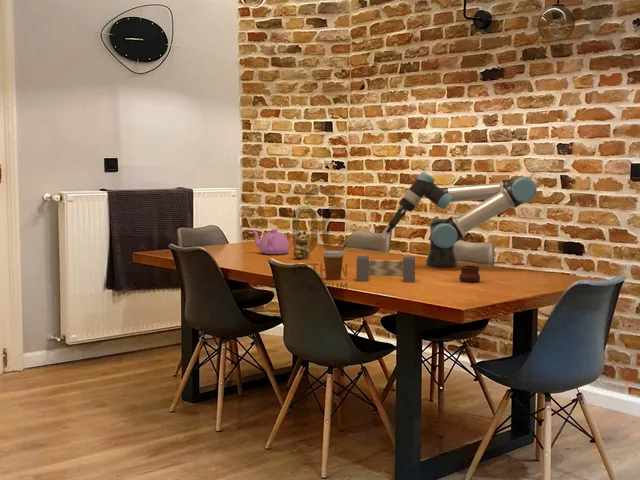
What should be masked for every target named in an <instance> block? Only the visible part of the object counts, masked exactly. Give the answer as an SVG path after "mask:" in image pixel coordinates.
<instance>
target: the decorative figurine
mask: <svg viewBox="0 0 640 480" xmlns="http://www.w3.org/2000/svg"><path fill="white" fill-rule="evenodd" d="M310 235H311V234H310V233H307V232H306V230H303V231H302V232H301V231H299V232H298V233H297V234H296V236H295V238H294V241H295V245H294V247H293V250H292V254H293V257H294V258H295V259H296V260H299V259H300V260H301V261H303V260H308V259H309V257H311V254H310V249H309V248H308V247H307V246H308V245H309V239H308V237H310Z"/></svg>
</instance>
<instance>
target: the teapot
mask: <svg viewBox="0 0 640 480" xmlns="http://www.w3.org/2000/svg"><path fill="white" fill-rule="evenodd" d="M251 231H252V232H253V233H254V243H255V245H256V246H257V247H258V250H259V252H260V253H262V254H263V253H265V255H266V254H270V255H276V254H281V255H286V254H287V253H288V252H289V251H290V249H291V247H290V242H289V240H288V238H287V237H286V235H285V233H284V232H278V229H277V228H276V229H275V228H273V229H271V230H270V232H265V233H264V234H263V236H262V238H261V239H260V238H259V233H258V231H257V230H255V229H251Z"/></svg>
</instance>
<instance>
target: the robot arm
mask: <svg viewBox="0 0 640 480" xmlns="http://www.w3.org/2000/svg"><path fill="white" fill-rule="evenodd" d="M435 181H436V180H435V178H434V177H433V176H431V175H430V174H429V173H427V172H425V171H422V172H421V173H420V174H419V175H418V176H417V177H416V179H415V180H414V181H413V183H412V184H411V186H410V187H409V189H408V190H406V191H405V194H404V196H403V197H401V199H400V201H398V203H399V205H400V206H402V207H400V208H398V209H397V211H396V213H395V214H394V216H393V218H392V219H391V220H390V222H389V223H388V224H387V226H386V227H385V228H384V229H383V231H382V232H381V235H380V237H381V238H383V239H384V240H387V239H388V236H390V235H391V233H392V232H393V230H394V229H395V228H396V226H397V225H398V223H399V222H400V220H402V219H403V217H405V215H406V214H407V212H406V211H408V212H411V213H412V212H413V211H414V209H415V208H416V205H418V204H419V203H420V201H421V200H422V199H423V197H425V198H427V199H428V200H429V201H430V202H432V203H433V204H434V205H435V206H437V208H440V209H441V210H446V208H447V207H448V206H449V205H450V204H451V203H459V202H469V201H479V200H484V201H483V202H481V203H478V204H477V205H475V206H474V207H472V208H470V209H469V210H467V211H465V212H464V213H461V214H459V215H458V216H450V217H449V218H436V219H435V218H434V219H433V218H432V219H431V221H430V224H429V227H430V228H429V229H430V232H429V233H430V235H429V237H430V238H429V239H430V240H429V246H430V247H429V252H428V255H427V257H426V261H425V262H426V263H425V265H426V266H428V267H436V268H451V267H453V268H454V267H457V266H458V260H457V257H456V254H455V251H454V249H455V248H454V245H455V244H456V243H457V242H459V241H461V240H462V239H464V238H465V237H466V233H468V232H470V231H471V230H474V229H475V228H476V227H478V226H480V225H481V224H484V223H485V222H487V221H489V220H491V219H492V218H494V217H496V216H497V215H499V214H501V213H503V212H504V211H506V210H508V209H509V208H512V209H516V208H518V207H520V206H521V205H523V204H526V203H529V202H531V201H532V200H533V199H534V198H535V196H536V195H537V185H536V183H535V182H534V180H532V178H530V177H527V176H515V177H513V178H508V179H501V180H500V181H499V182H491V183H490V182H489V183H479V184H471V185H470V184H469V185H459V186H447V187H439V186H438V185H436V184H435Z"/></svg>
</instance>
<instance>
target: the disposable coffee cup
mask: <svg viewBox="0 0 640 480" xmlns="http://www.w3.org/2000/svg"><path fill="white" fill-rule="evenodd" d="M344 256H345V254H344V251H343V250H333V249H332V250H324V251H323V253H322V257H323V261H324V262H323V263H324V271H325V279H326V280H330V281H332V280H336V281H337V280H341V276H342V269H343V261H344Z"/></svg>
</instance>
